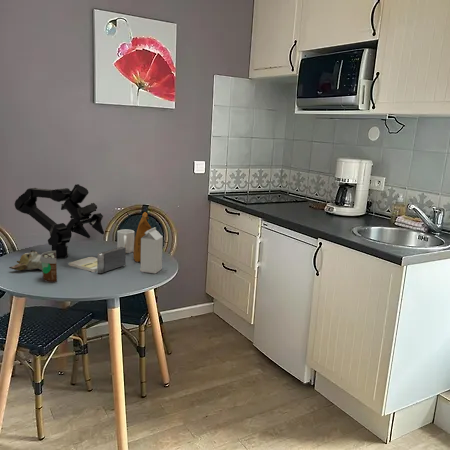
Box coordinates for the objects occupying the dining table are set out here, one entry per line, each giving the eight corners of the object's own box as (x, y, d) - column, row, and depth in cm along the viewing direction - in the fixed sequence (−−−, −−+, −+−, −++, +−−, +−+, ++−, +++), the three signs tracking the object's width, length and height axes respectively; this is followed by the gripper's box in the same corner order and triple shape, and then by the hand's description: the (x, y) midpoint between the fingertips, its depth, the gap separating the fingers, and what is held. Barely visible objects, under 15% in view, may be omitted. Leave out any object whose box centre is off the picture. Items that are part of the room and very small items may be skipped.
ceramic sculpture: (45, 253, 188) (7, 254, 186) (47, 273, 189) (9, 274, 188) (51, 246, 198) (15, 247, 196) (53, 265, 200) (17, 267, 198)
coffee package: (154, 255, 224) (155, 211, 220) (154, 262, 212) (155, 216, 208) (133, 255, 223) (134, 211, 218) (132, 262, 211) (133, 216, 206)
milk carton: (161, 269, 203) (163, 227, 199) (155, 274, 196) (156, 231, 193) (147, 267, 205) (148, 226, 201) (140, 271, 198) (141, 229, 194)
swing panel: (100, 273, 192) (100, 255, 190) (95, 272, 193) (95, 253, 191) (125, 265, 205) (125, 247, 203) (121, 263, 206) (121, 246, 205)
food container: (40, 274, 188) (39, 250, 186) (56, 273, 190) (55, 250, 188) (40, 284, 177) (39, 259, 175) (56, 283, 179) (56, 258, 177)
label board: (68, 265, 201) (68, 261, 201) (90, 259, 213) (90, 255, 212) (93, 272, 194) (93, 268, 194) (114, 265, 205) (115, 261, 205)
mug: (133, 255, 222) (133, 235, 220) (115, 255, 221) (115, 234, 219) (134, 249, 234) (134, 229, 232) (118, 248, 233) (118, 229, 230)
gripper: (69, 200, 194) (91, 227, 191) (98, 195, 210) (119, 220, 207) (56, 218, 198) (78, 244, 195) (86, 212, 215) (106, 236, 212)
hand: (96, 235), depth 202 cm, fingers open, 9 cm apart
